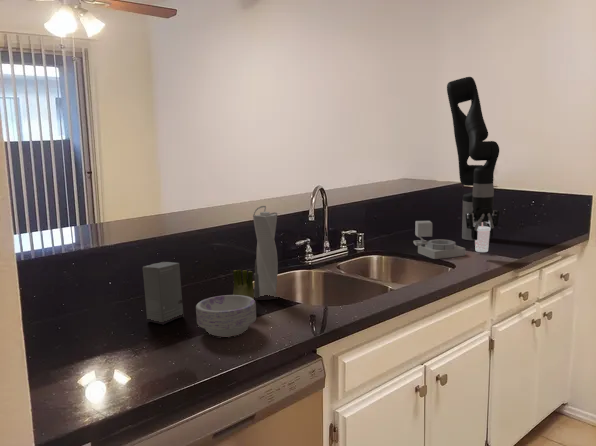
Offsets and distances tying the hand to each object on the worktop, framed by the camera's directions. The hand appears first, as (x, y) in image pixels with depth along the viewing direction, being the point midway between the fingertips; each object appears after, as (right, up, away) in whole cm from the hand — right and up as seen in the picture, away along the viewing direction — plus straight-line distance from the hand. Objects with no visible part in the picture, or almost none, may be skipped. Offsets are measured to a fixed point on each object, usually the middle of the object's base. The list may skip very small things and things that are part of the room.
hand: (481, 238), depth 208 cm
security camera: (-15, -4, +32) cm, 35 cm away
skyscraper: (-80, -17, -38) cm, 90 cm away
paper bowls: (-88, -22, -67) cm, 113 cm away
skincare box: (-107, -21, -56) cm, 122 cm away
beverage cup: (0, -5, +1) cm, 5 cm away
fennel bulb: (-86, -19, -50) cm, 101 cm away
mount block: (-12, -7, +12) cm, 18 cm away
